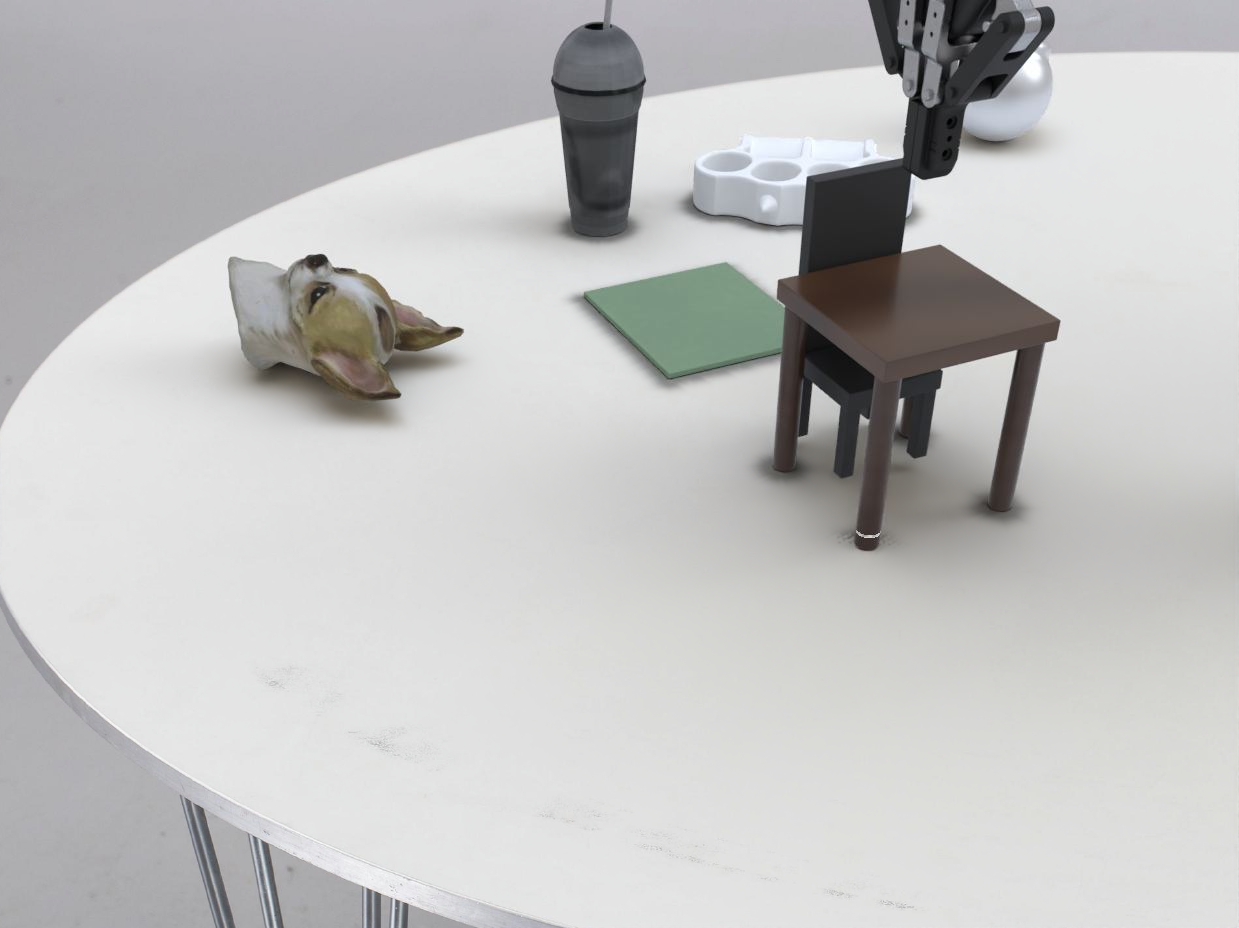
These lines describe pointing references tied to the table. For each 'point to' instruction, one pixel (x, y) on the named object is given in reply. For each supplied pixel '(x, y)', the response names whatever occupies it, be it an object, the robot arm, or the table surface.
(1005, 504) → the side table
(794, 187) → the white brass knuckles
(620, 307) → the mat
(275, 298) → the ceramic sculpture
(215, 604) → the table surface
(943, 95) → the robot arm
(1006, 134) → the white spiral shell
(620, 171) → the beverage cup
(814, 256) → the chair
